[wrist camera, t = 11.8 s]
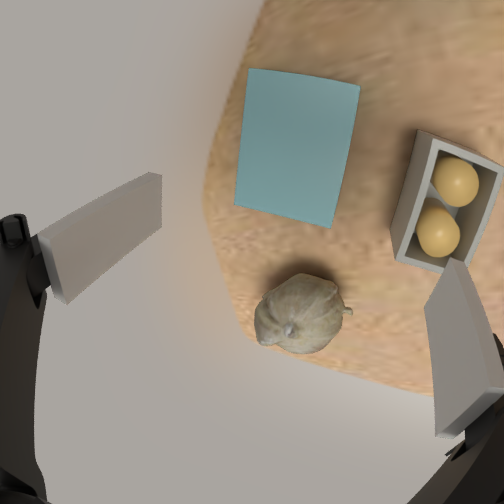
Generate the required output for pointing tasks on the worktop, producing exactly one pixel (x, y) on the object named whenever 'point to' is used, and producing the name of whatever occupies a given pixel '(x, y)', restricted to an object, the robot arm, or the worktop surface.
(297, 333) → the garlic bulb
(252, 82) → the lid
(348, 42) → the worktop surface
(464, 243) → the box
